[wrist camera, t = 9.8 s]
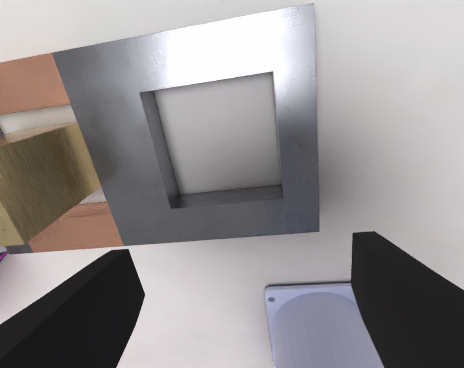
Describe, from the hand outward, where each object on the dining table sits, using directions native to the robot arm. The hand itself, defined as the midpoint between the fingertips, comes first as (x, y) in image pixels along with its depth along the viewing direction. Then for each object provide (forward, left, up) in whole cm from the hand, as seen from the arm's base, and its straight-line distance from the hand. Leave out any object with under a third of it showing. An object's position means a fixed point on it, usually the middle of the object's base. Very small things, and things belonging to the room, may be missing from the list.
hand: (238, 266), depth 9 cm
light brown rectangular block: (+2, +12, -10) cm, 16 cm away
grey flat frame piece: (+2, +7, -9) cm, 12 cm away
